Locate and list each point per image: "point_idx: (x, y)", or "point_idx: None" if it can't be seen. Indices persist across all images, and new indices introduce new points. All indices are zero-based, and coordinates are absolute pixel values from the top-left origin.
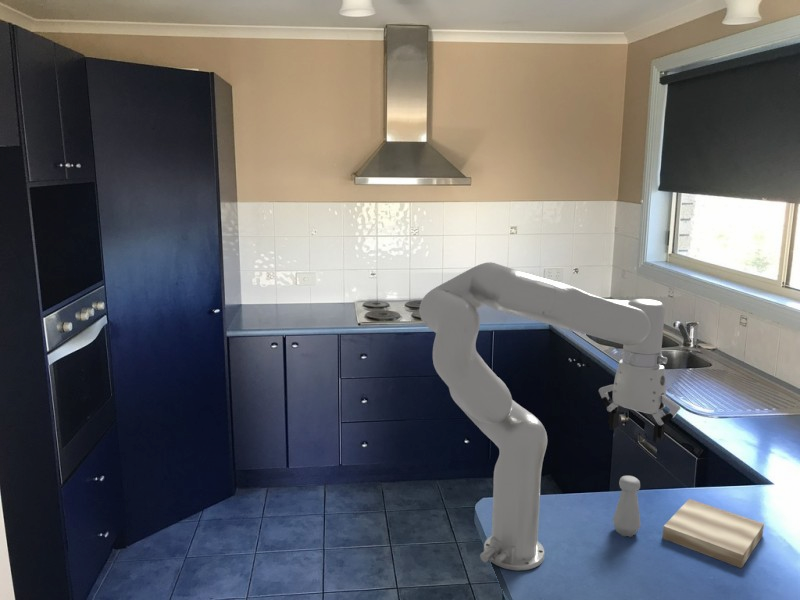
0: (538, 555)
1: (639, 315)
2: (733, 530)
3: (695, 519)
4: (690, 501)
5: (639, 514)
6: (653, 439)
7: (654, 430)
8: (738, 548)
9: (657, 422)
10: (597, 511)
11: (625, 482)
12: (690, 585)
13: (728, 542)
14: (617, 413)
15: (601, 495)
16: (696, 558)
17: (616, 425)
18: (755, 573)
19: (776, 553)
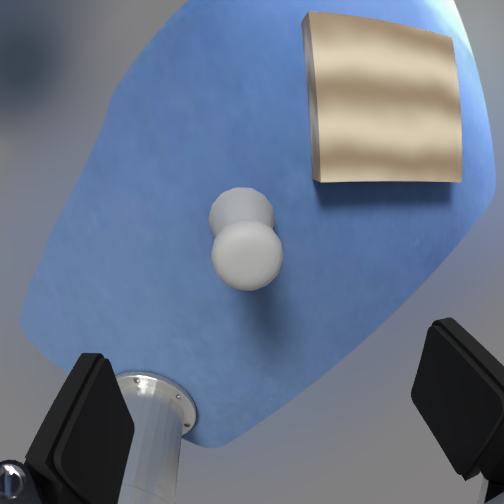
0: (184, 405)
1: None
2: (430, 98)
3: (362, 99)
4: (316, 21)
5: (271, 214)
6: (417, 404)
7: (445, 445)
8: (452, 164)
9: (485, 482)
10: (146, 181)
11: (246, 289)
12: (396, 288)
13: (436, 153)
14: (84, 470)
15: (114, 106)
16: (386, 202)
17: (113, 389)
18: None
19: (466, 91)
